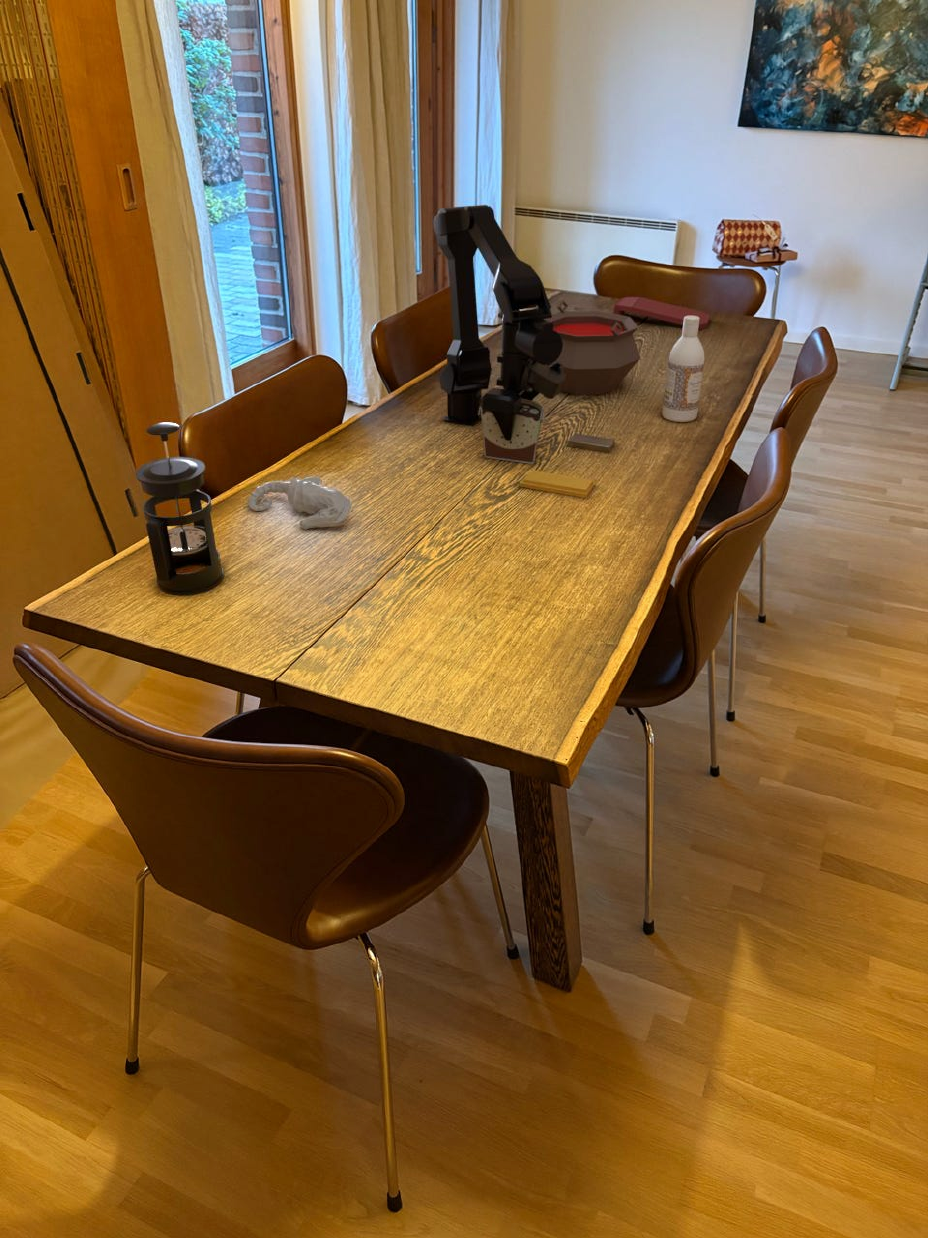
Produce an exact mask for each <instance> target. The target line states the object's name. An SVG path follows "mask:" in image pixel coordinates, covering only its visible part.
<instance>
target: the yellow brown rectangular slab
mask: <svg viewBox="0 0 928 1238" xmlns="http://www.w3.org/2000/svg"><path fill="white" fill-rule="evenodd" d="M518 487H519V488H525V489H530V490H537V491H541V492H547V493H554V494H559V495H565V496H570V497H576V498H582V499H586V498H587V497H588V496H589V495H590V494H591V492H592V490H593V489H594V488H595V482H594V479H589V478H584V477H577V476H573V475H571V476H570V475H566V474H559V473H553V472H547V471H541V470H535V469H531V470H530V471H529V472H528V473H527V474H526V475H525V476H524V477H523V478H522V479H521V480H520V481H519V483H518Z"/></svg>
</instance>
